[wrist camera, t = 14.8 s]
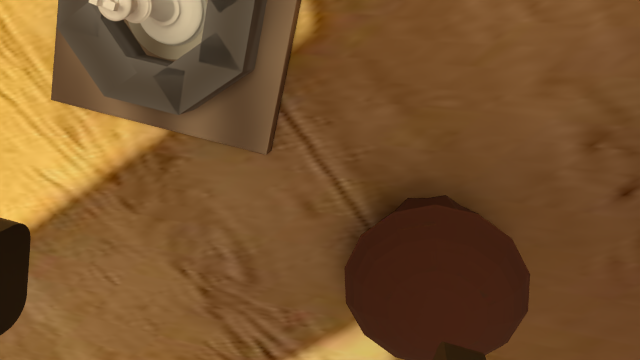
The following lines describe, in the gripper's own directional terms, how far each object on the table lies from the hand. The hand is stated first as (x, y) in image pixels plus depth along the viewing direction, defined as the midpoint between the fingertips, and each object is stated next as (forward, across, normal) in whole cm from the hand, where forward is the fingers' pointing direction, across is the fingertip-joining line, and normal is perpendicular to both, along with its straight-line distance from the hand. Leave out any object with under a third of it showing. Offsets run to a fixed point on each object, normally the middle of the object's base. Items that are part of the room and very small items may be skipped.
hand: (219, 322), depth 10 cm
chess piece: (+29, +14, -4) cm, 32 cm away
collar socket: (+30, +14, -4) cm, 33 cm away
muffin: (+30, -8, +9) cm, 33 cm away
